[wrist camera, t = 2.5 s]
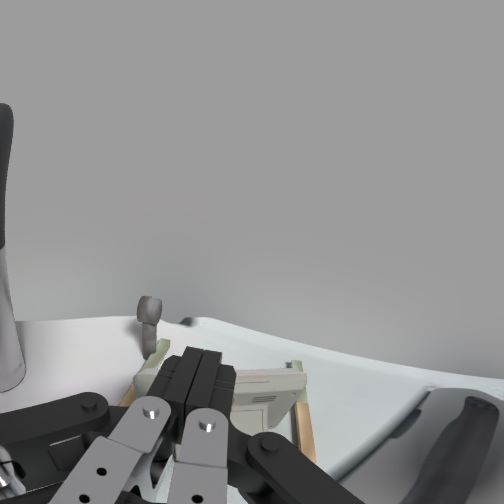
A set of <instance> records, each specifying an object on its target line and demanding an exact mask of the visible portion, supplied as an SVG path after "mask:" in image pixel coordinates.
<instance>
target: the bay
mask: <svg viewBox="0 0 504 504" xmlns="http://www.w3.org/2000/svg"><path fill="white" fill-rule="evenodd" d="M161 312H162V301H161V300H160V299H156V298H152V297H150V296H148V297H146V296H143V297H141V299H140V301H139V304H138V307H137V319H138V321H140V322H143V358H144V359H145V360H147V361H146V363H145V364H144V366H143V368H142V369H141V370H143V369H145V368H156V369H158V367H159V365H160V364H161V362H162V360H163V358H164V356H165V355H166V353H167V351H168V349H169V347H170V340H167V339H163V338H161V339H160V341H159V342H158V344H157V345H156V329H157V324H158V322H159V320H160V316H161ZM290 368H295V369H297V370H299V371H301V372H303V369H302V362H301V361H296V360H292V361H291V365H290ZM135 400H136V396H135V391H134V383H133V384H132V385H131V387H130V389H129V390H128V392H127V394H126V395H125V397H124V398H123V400H122V402H121V403H120V405H119V406H121V407H127V406H131V404H132V403H133V402H134V401H135ZM294 409H295V419H296V430H297V441H298V450H300V451H301V452H302V453H303V454H304V455H305V456H306V457H308V458H309V459H310V460H311V461H312V462H313V463H315V464H316V462H317V461H316V454H315V447H314V440H313V433H312V426H311V419H310V413H309V406H308V400H307V393H306V387H305V388H304V390H303V392H302V393H301V395H300V396H299V398H298V399H297V401H296V402H295V403H294Z"/></svg>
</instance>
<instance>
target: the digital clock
mask: <svg viewBox="0 0 504 504" xmlns="http://www.w3.org/2000/svg"><path fill="white" fill-rule="evenodd" d="M159 370H160V369H156V368H145V369H143V370H141V371H140V372H138V373H137V374H136V375H134V378H133V383H134V391H135V396H136V399H138V398H141V397H144V396H146V394H147V392H148V390H149V388H150V387H151V385H152V383H153V381H154V379H155V377H156V376H157V374H158V372H159ZM235 372H236V374H237V375H236V381H235V388H234V394H233V401H232V407H231V413H230V420H231V422H232V424H233V425H234V426H235V427H236V428H237V429H238V430H240V431H241V432H243V433H246V434H248V435H251V436H253V435H255V434H257V433H260V432H268V429H270V428H274V427H276V426H277V425H278V424H279V423H280V421H281V420H282V419H283V418H284V416H285V415H286V414H287V412H288V411H289V410H290V409H291V407H292V406H293V405H294V403H295V402H296V401H297V399H298V398H299V396H300V395H301V393H302V392H303V390H304V388H305V386H306V383H307V376H306V374H305V373H303V372H301V371H299V370H297V369H295V368H281V369H258V370H235ZM180 447H181V445H179V444H176V446H175V456H176V461H178V457H179V452H180Z"/></svg>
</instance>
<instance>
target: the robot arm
mask: <svg viewBox="0 0 504 504" xmlns="http://www.w3.org/2000/svg"><path fill="white" fill-rule="evenodd" d="M13 124H14V120H13V113H12V110H11V108H10V106H9V105H7V104H3V103H0V392H4V391H7V390H10V389H11V388H13V387H15V386H16V385H18V384H19V383H20V382H21V380H22V379H23V377H24V375H25V371H26V370H25V364H24V360H23V357H22V353H21V349H20V344H19V340H18V335H17V330H16V326H15V320H14V315H13V310H12V304H11V297H10V290H9V282H8V274H7V264H6V251H5V230H4V229H5V191H6V180H7V171H8V164H9V157H10V151H11V144H12V137H13V126H14V125H13ZM221 361H222V352H216V351H210V350H205V351H204V349H199V348H194V347H189V346H187V347H186V349H185V351H184V353H183V355H182V357H180V356H175V355H172V356H171V357H169V358H168V359H166V360H165V361H164V363H163V364H162V366H161V369H160V370H159V372H158V374H157V376H156V377H155V379H154V381H153V383H152V385H151V387H150V388H149V390H148V392H147V394H146V396H144V397H141V398H138V399H136V400H135V401H134V402H133V403H132V404H131V406H127V407H121V406H108V402H107V400H106V399H105V398H104V397H103V396H102V395H100V394H97V393H93V392H84V393H80V394H77V395H73V396H70V397H66V398H62V399H59V400H55V401H51V402H48V403H44V404H40V405H36V406H32V407H28V408H24V409H19V410H15V411H11V412H6V413H1V414H0V504H227V484H228V485H230V486H233V487H235V488H238V491H239V493H240V494H241V496H242V497H243V498H244V499H245V500H246V501H247V503H248V504H365V503H364V502H362V501H361V500H359V499H358V498H357V497H355V496H354V495H353V494H351V493H350V492H349V491H348V490H346V489H345V488H344V487H343V486H341V485H340V484H339V483H337V482H336V481H335V480H334V479H333V478H331V477H330V476H329V475H328V474H326V473H325V472H324V471H323V470H322V469H320V468H319V467H318V466H317V465H316V464H315V463H313V462H312V461H311V460H310V459H309V458H308V457H306V456H305V455H304V454H303V453H302V452H301V451H300V450H298V449H297V448H296V447H295V446H294V445H293V444H292V443H291V442H290V441H289V440H287V439H286V438H285V437H284V436H282V435H280V434H277V433H274V432H260V433H257V434H255V435H253V436H251V435H248V434H246V433H243V432H241V431H240V430H238V429H237V428H236V427H235V426H234V425H233V424H232V422H231V420H230V413H231V407H232V401H233V394H234V388H235V381H236V375H237V374H236V372H235V370H234V368H233V366H230V365H223V364H221ZM78 435H80V437H78V438H75V439H72V440H69V441H66V442H63V443H59V444H56V445H52V446H49V445H50V444H52V443H55V442H59V441H62V440H65V439H68V438H72V437H75V436H78ZM176 444H179V445H181V447H180V452H179V457H178V461H176V462H175V465H174V469H173V474H172V479H171V484H170V489H169V494H168V499H167V503H155V501H156V495H157V492H158V490H159V488H160V486H161V483H162V481H163V479H164V477H165V474H166V472H167V470H168V468H169V465H170V463H171V461H172V458H173V452H174V449H175V446H176ZM64 480H65V481H64ZM61 481H64V482H61ZM58 482H60V483H58ZM54 483H57V484H54ZM51 484H53V485H51ZM48 485H51V486H48ZM44 486H48V487H44ZM41 487H44V488H41ZM37 488H41V489H38V490H35V491H32V492H28V493H25V491H29V490H33V489H37Z"/></svg>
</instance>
